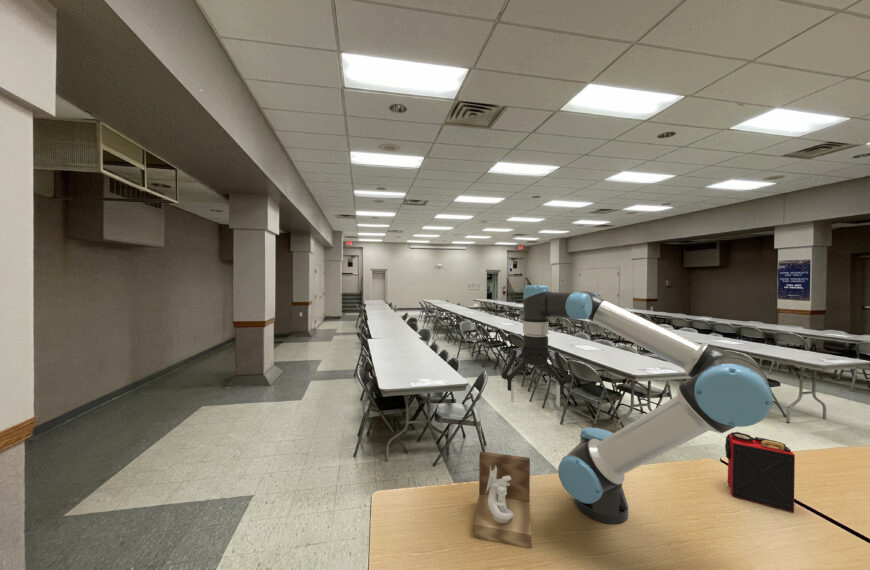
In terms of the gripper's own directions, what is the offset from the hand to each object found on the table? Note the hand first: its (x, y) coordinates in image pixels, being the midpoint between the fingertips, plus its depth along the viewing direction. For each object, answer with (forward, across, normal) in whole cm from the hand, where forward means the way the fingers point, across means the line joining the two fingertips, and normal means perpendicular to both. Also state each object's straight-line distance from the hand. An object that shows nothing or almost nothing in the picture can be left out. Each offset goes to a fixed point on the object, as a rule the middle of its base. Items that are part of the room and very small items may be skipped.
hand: (534, 403), depth 103 cm
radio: (+32, -71, -22) cm, 81 cm away
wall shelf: (+32, +9, +10) cm, 34 cm away
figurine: (+28, +11, +12) cm, 32 cm away
